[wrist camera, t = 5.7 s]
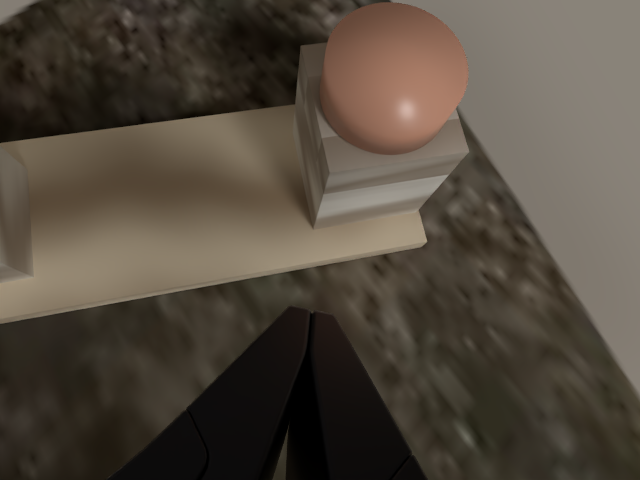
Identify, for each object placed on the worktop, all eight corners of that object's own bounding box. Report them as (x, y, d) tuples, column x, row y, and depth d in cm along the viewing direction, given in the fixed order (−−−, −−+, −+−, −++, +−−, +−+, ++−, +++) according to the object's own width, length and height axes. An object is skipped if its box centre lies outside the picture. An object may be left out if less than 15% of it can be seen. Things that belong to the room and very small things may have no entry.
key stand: (420, 247, 24) (485, 190, 17) (-84, 339, 21) (-271, 316, 14) (382, 102, 26) (425, -3, 19) (-84, 165, 23) (-247, 66, 16)
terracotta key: (448, 164, 19) (486, 118, 15) (329, 182, 18) (342, 138, 15) (417, 59, 20) (446, -5, 16) (304, 73, 19) (311, 10, 16)
